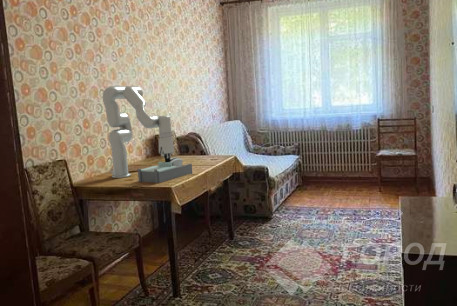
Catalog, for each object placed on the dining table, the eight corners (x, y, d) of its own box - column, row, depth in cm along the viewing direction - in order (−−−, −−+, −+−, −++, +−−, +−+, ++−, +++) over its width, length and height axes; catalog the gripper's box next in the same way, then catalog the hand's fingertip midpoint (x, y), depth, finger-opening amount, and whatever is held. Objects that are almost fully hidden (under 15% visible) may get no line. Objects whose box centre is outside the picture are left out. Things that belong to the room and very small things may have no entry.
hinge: (176, 167, 314) (179, 155, 311) (181, 170, 312) (184, 157, 309) (161, 172, 300) (164, 158, 297) (166, 174, 298) (169, 161, 295)
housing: (137, 183, 264) (136, 168, 262) (172, 173, 292) (171, 160, 291) (158, 184, 255) (157, 169, 254) (192, 174, 284) (191, 160, 282)
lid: (138, 171, 264) (138, 166, 264) (156, 166, 278) (155, 161, 277) (159, 172, 255) (158, 166, 255) (176, 167, 269) (176, 162, 269)
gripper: (168, 134, 281) (170, 162, 283) (153, 136, 268) (155, 166, 271) (177, 134, 277) (180, 162, 279) (162, 136, 264) (165, 166, 267)
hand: (168, 164), depth 275 cm, fingers closed
